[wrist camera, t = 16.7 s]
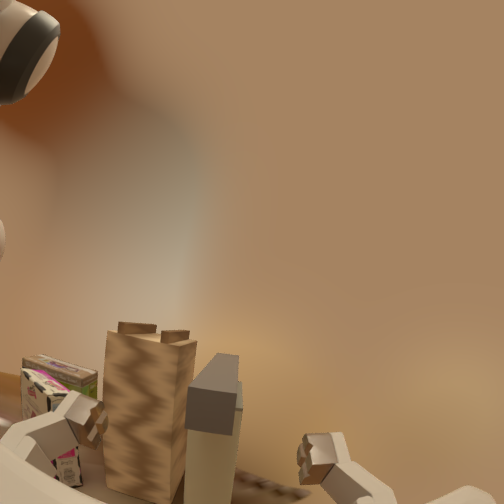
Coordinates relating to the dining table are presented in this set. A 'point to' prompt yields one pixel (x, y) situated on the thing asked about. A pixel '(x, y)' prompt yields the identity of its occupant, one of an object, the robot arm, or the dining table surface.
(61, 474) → the candy bar box
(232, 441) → the block
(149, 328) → the stand
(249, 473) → the dining table surface
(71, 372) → the tea box
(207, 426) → the bar
